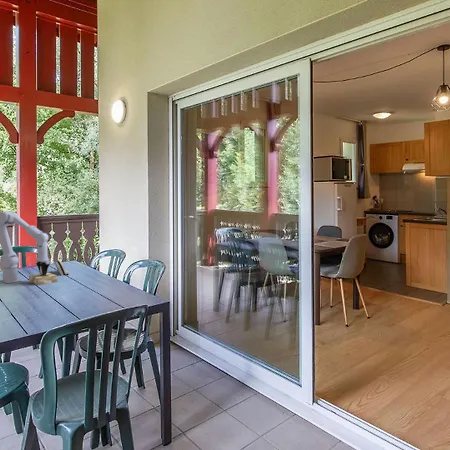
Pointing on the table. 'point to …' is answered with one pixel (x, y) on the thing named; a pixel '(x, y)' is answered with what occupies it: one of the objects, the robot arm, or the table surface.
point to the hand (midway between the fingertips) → (43, 274)
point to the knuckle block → (43, 279)
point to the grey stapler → (61, 268)
